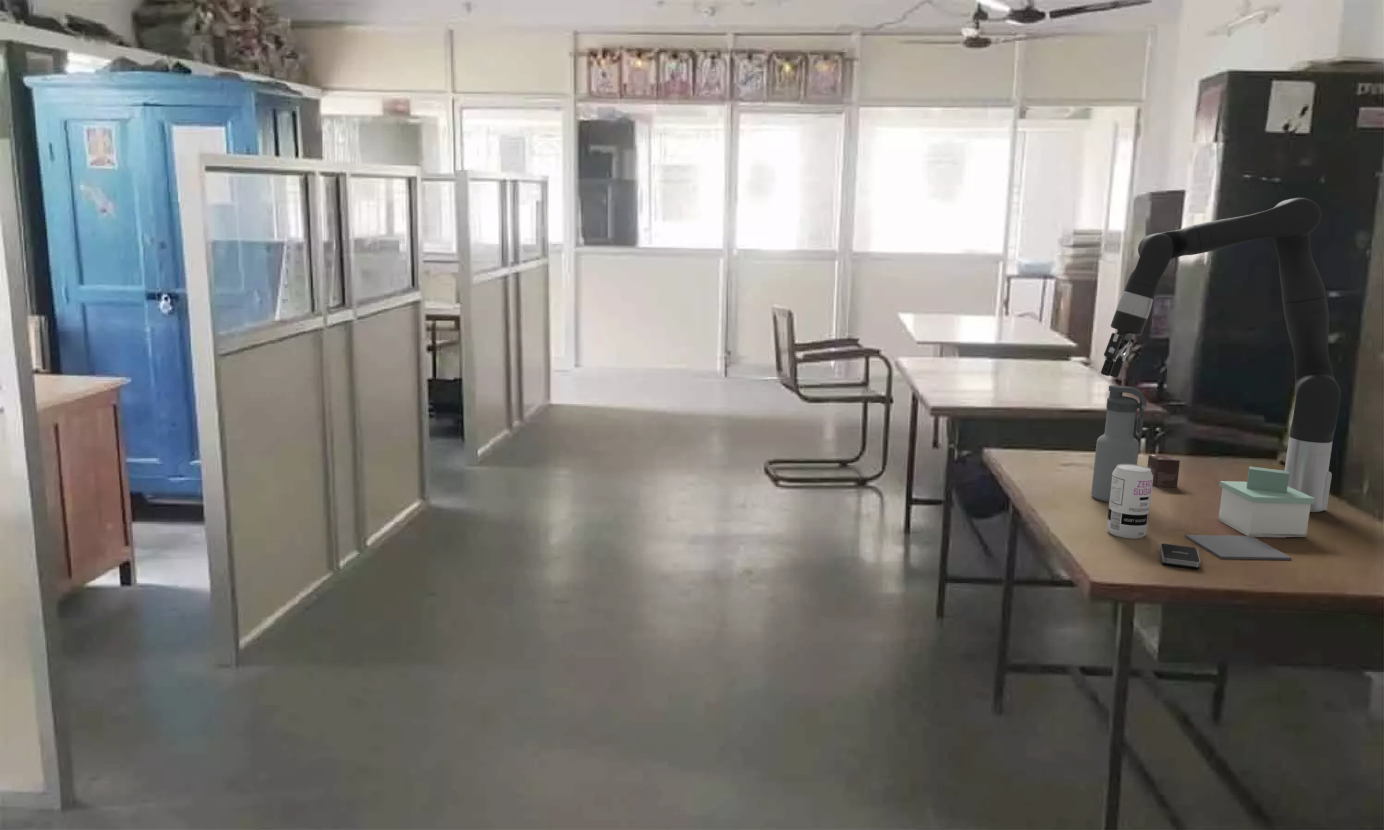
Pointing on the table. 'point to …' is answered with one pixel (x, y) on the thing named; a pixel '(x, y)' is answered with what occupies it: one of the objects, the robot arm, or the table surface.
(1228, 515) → the storage box
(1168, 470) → the box
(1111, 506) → the supplement can
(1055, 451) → the table surface
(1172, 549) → the external hard drive
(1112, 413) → the water bottle
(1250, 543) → the mat
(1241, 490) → the lid
